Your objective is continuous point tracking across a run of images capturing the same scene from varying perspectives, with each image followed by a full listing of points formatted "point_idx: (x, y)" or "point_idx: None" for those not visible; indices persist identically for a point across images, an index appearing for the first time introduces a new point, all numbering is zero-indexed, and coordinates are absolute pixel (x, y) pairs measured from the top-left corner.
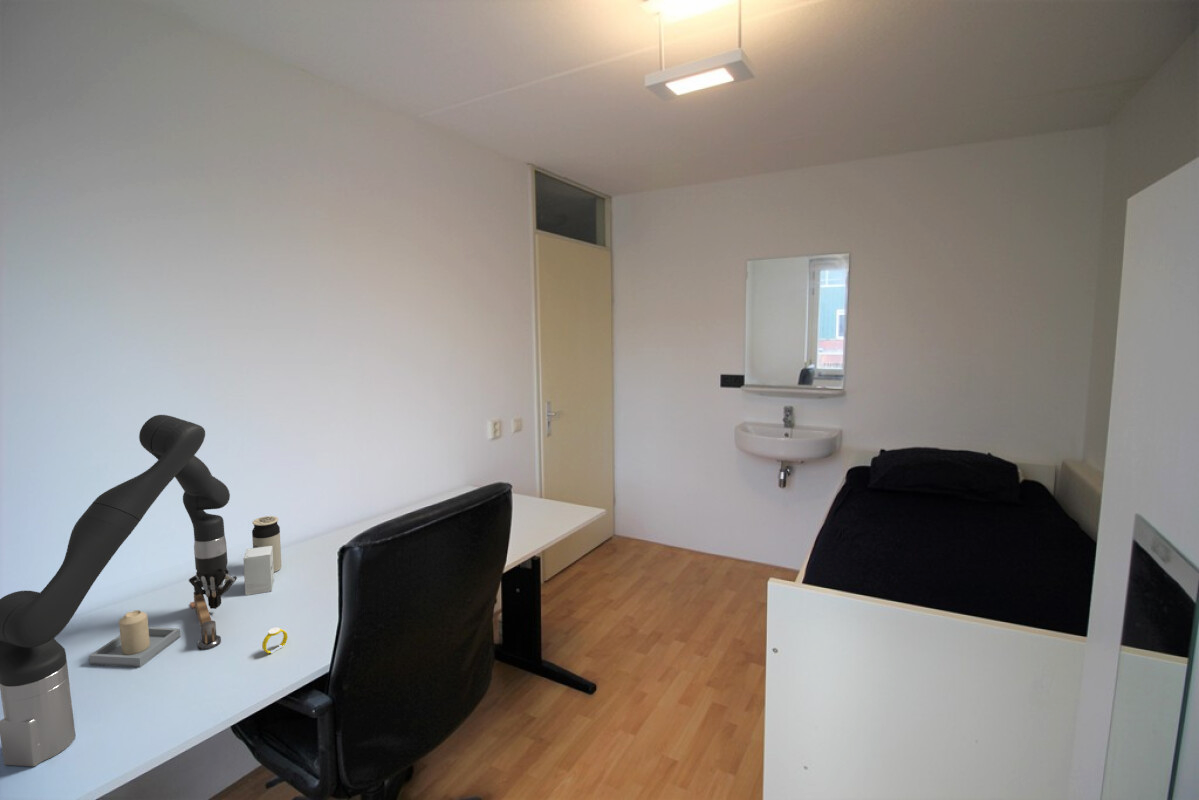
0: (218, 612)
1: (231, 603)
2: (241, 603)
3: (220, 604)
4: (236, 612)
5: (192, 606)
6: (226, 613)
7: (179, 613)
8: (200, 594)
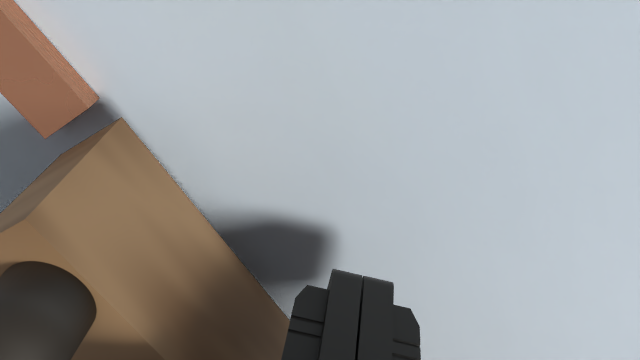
0: (377, 232)
1: (447, 60)
2: (578, 76)
3: (409, 316)
4: (566, 259)
5: (44, 130)
6: (467, 261)
7: (4, 195)
8: (106, 336)
